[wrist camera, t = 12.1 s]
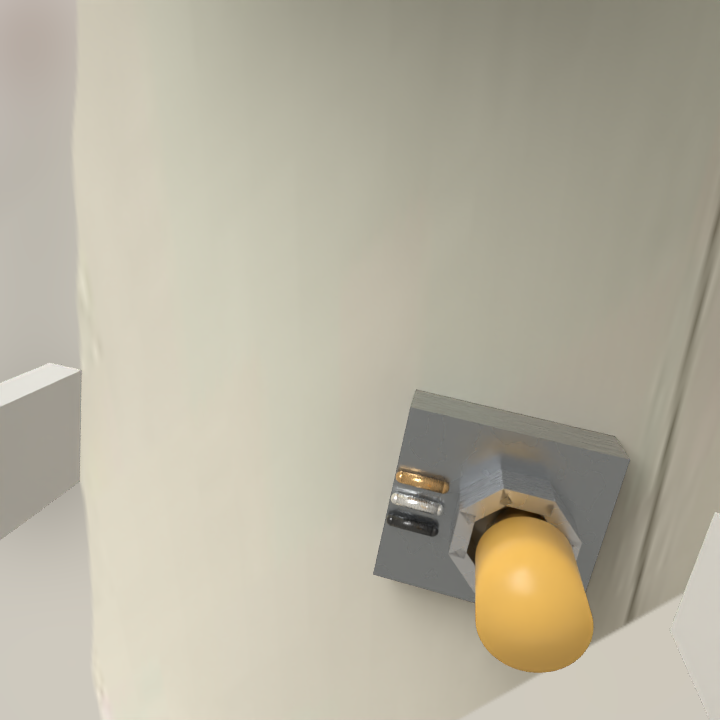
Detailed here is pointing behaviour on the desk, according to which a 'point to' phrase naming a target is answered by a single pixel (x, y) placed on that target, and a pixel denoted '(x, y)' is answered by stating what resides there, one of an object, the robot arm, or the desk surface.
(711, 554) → the robot arm
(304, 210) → the desk surface
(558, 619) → the yellow capsule
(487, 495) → the box
